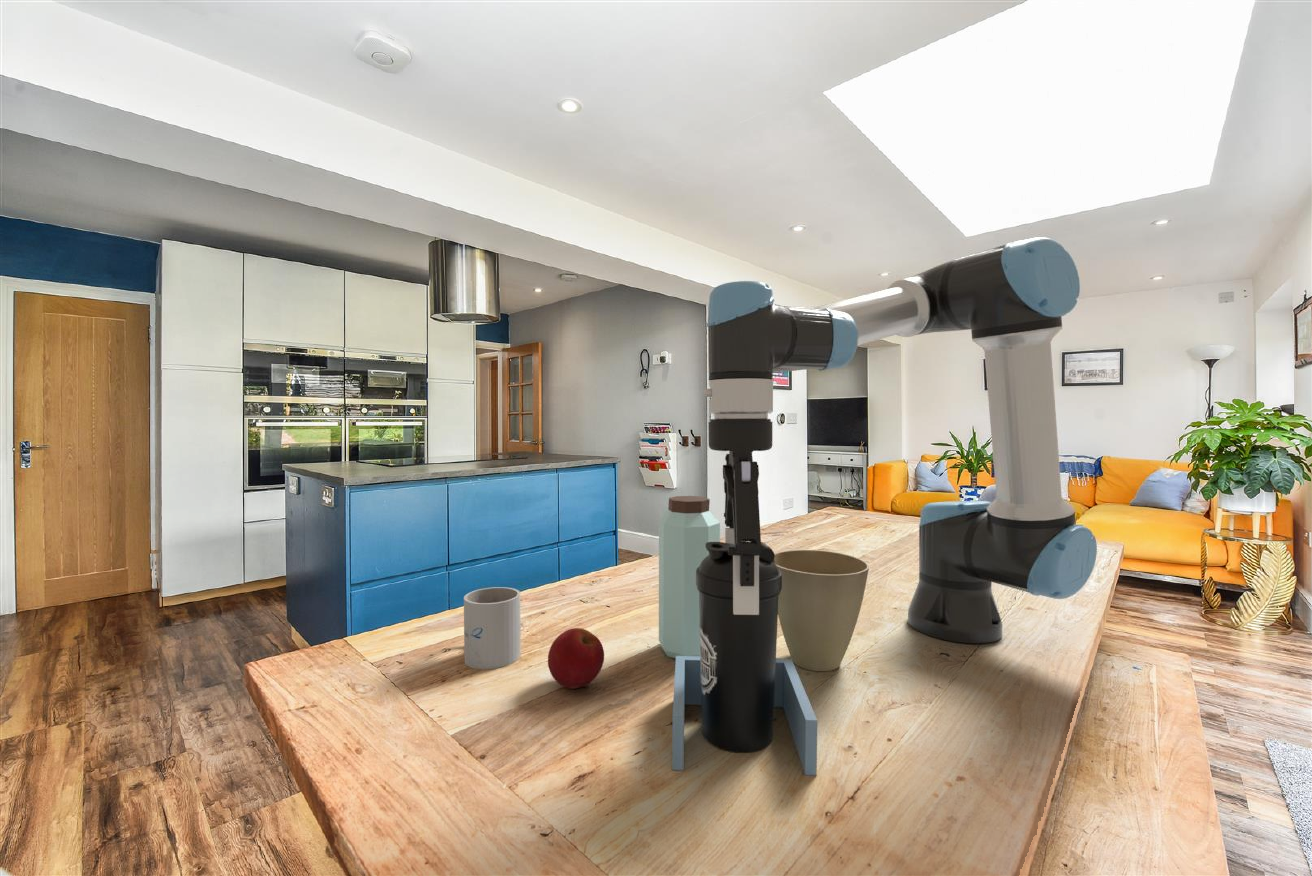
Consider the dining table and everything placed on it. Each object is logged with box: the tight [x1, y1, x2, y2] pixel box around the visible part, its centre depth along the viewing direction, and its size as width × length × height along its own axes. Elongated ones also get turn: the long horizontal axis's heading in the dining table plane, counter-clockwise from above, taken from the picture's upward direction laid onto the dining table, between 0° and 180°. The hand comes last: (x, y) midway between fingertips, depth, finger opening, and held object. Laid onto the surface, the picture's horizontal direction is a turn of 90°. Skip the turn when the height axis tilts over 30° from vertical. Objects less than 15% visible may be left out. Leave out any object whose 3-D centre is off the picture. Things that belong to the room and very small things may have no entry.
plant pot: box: [774, 549, 870, 672], centre depth 89 cm, size 15×15×16 cm
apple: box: [547, 627, 605, 690], centre depth 81 cm, size 8×8×8 cm
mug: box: [463, 586, 522, 670], centre depth 92 cm, size 12×9×10 cm
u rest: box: [671, 656, 818, 776], centre depth 69 cm, size 15×15×6 cm
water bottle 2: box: [696, 541, 782, 754], centre depth 68 cm, size 10×10×23 cm
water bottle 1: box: [658, 495, 721, 660], centre depth 93 cm, size 10×10×25 cm
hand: (740, 594), depth 68 cm, fingers open, 13 cm apart
